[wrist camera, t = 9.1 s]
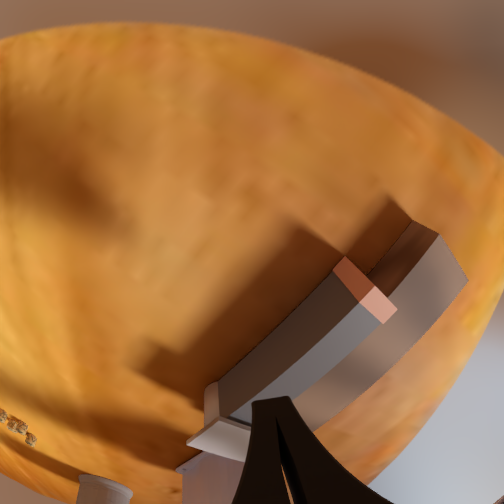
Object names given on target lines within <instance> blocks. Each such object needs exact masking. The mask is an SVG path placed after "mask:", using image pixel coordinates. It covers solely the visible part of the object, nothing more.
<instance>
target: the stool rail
mask: <svg viewBox="0 0 504 504" xmlns="http://www.w3.org/2000/svg"><path fill="white" fill-rule="evenodd" d="M366 277H367V278H368V279H369V280H370V281H371V282H372V283H373V284H374V285H375V286H376V287H377V288H378V289H379V290H380V291H381V292H382V293H383V294H384V295H385V296H386V297H387V298H388V299H389V301H390V302H391V303H392V304H393V305H394V306H395V307H396V308H397V309H398V310H397V311H396V312H395V313H394V314H393V315H392V316H391V317H390V318H389V319H388V320H387V321H386V322H385V323H384V324H382V323H381V324H380V325H379V326H378V327H377V328H376V329H375V330H374V331H373V332H372V333H371V334H370V335H369V336H367V337H366V338H365V339H364V340H363V341H362V342H361V343H360V344H359V345H358V346H357V347H356V348H355V349H354V350H353V351H351V352H350V353H349V354H348V355H347V356H346V357H345V358H344V359H343V360H341V361H340V362H339V363H338V364H337V365H336V366H335V367H333V368H332V369H331V370H330V371H329V372H328V373H326V374H325V375H324V376H323V377H322V378H320V379H319V380H318V381H317V382H315V383H314V384H313V385H312V386H311V387H309V388H308V389H307V390H306V391H304V392H303V393H302V394H300V395H299V396H298V397H297V398H295V399H294V400H293V401H292V402H293V404H294V406H295V407H296V409H297V411H298V412H299V414H300V416H301V417H302V419H303V420H304V422H305V423H306V425H307V426H308V427H309V429H310V430H311V431H312V432H313V431H315V430H316V429H318V428H319V427H320V426H322V425H323V424H325V423H326V422H327V421H329V420H330V419H331V418H333V417H334V416H335V415H336V414H338V413H339V412H340V411H342V410H343V409H344V408H345V407H347V406H348V405H349V404H350V403H352V402H353V401H354V400H355V399H357V398H358V397H359V396H360V395H361V394H363V393H364V392H365V391H366V390H367V389H368V388H369V387H371V386H372V385H373V384H374V383H375V382H376V381H377V380H379V379H380V378H381V377H382V376H383V375H384V374H385V373H386V372H387V371H388V370H389V369H390V368H391V367H393V366H394V365H395V364H396V363H397V362H398V361H399V360H400V359H401V358H402V357H403V356H404V355H405V354H406V353H407V352H408V351H409V350H410V349H411V348H412V347H413V346H414V345H415V344H416V343H417V341H418V340H419V339H420V338H421V337H422V336H423V335H424V334H425V333H426V332H427V331H428V330H429V328H430V327H431V326H432V325H433V324H434V323H435V322H436V321H437V319H438V318H439V317H440V316H441V315H442V314H443V312H444V311H445V310H446V309H447V308H448V306H449V305H450V304H451V303H452V301H453V300H454V299H455V298H456V296H457V295H458V294H459V293H460V291H461V290H462V289H463V287H464V286H465V285H466V284H467V282H468V281H469V280H468V279H467V277H466V275H465V273H464V272H463V270H462V268H461V267H460V265H459V263H458V262H457V260H456V258H455V257H454V255H453V254H452V252H451V251H450V249H449V247H448V246H447V244H446V243H445V241H444V240H443V238H442V237H441V235H440V234H439V233H437V232H435V231H433V230H431V229H429V228H427V227H425V226H423V225H421V224H419V223H418V222H416V221H414V220H413V221H412V222H411V223H410V225H409V226H408V227H407V229H406V230H405V231H404V232H403V234H402V235H401V236H400V237H399V239H398V240H397V241H396V242H395V244H394V245H393V246H392V247H391V248H390V250H389V251H388V252H387V253H386V254H385V256H384V257H383V258H382V259H381V260H380V261H379V263H378V264H377V265H376V266H375V267H374V268H373V270H372V271H371V272H370V273H369V274H368V275H367V276H366ZM250 433H251V427H249V426H246V425H243V424H240V423H237V422H235V421H232V420H229V419H226V418H224V417H221V416H218V417H216V418H215V419H214V420H213V421H211V422H210V423H209V424H208V425H206V426H205V427H204V428H202V429H201V430H200V431H198V432H197V433H196V434H194V435H193V436H192V437H190V438H189V439H188V440H186V445H188V446H191V447H194V448H197V449H200V450H203V451H206V452H209V453H213V454H216V455H219V456H223V457H226V458H230V459H234V460H238V461H242V462H245V460H246V456H247V451H248V445H249V439H250Z"/></svg>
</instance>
